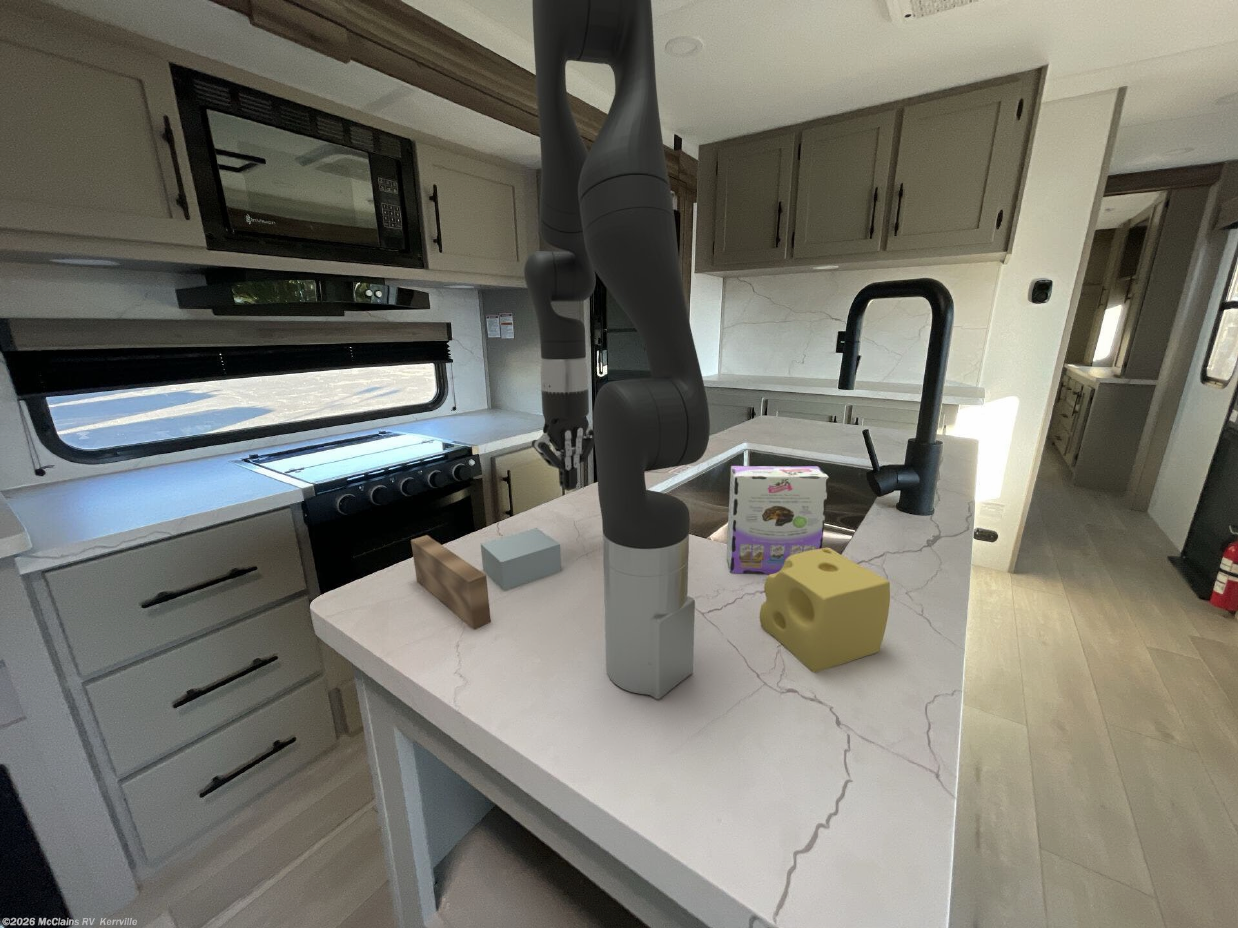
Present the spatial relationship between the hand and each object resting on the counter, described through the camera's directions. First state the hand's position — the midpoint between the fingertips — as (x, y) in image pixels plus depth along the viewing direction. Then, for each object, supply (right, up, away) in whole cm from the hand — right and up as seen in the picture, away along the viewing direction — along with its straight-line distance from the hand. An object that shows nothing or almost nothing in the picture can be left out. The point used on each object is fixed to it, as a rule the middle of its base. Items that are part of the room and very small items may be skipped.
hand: (568, 488), depth 84 cm
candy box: (+33, -13, -4) cm, 36 cm away
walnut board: (-16, -16, -12) cm, 25 cm away
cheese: (+34, -18, -22) cm, 44 cm away
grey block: (-7, -13, -4) cm, 16 cm away
